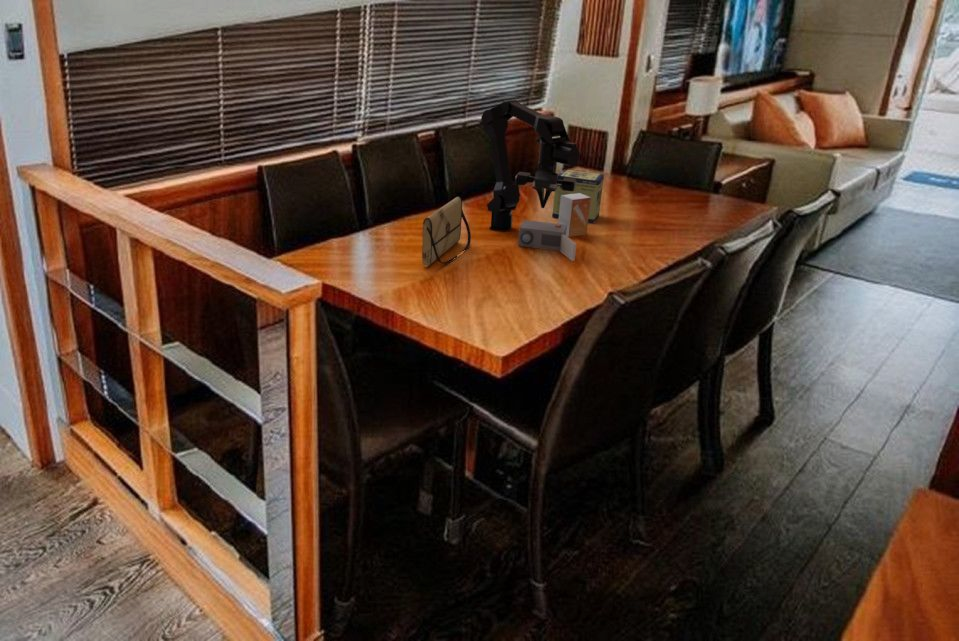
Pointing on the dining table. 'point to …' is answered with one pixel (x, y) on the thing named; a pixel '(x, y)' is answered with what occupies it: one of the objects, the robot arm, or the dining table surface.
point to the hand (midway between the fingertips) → (542, 207)
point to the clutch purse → (443, 231)
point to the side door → (568, 247)
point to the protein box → (581, 191)
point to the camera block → (541, 234)
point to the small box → (574, 213)
